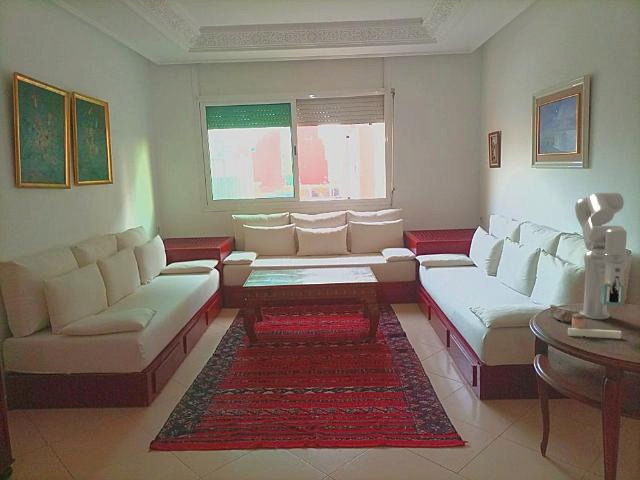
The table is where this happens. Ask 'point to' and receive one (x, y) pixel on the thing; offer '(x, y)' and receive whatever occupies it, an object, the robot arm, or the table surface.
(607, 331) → the rail
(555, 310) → the mineral specimen
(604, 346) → the table surface
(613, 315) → the table surface
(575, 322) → the spice jar
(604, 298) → the tea tin
